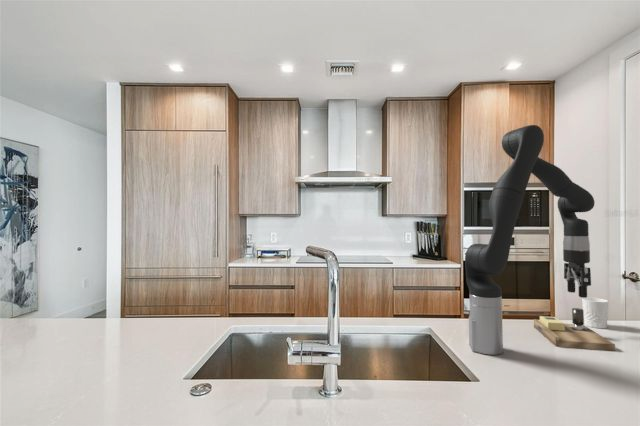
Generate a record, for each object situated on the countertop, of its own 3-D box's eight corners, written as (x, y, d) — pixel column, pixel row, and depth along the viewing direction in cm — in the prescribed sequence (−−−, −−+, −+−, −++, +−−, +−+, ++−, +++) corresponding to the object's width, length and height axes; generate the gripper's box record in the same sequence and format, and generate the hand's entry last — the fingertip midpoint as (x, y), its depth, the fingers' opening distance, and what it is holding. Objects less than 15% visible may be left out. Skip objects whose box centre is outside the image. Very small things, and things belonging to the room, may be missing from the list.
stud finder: (548, 329, 118) (548, 322, 118) (539, 322, 126) (539, 315, 126) (564, 330, 117) (564, 323, 117) (555, 323, 124) (555, 316, 124)
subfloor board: (555, 346, 108) (555, 336, 108) (533, 327, 128) (533, 319, 128) (615, 350, 104) (614, 341, 104) (583, 330, 123) (582, 322, 124)
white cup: (577, 323, 131) (576, 298, 131) (591, 321, 133) (591, 296, 134) (599, 330, 123) (598, 302, 124) (614, 327, 126) (613, 301, 126)
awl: (575, 336, 118) (574, 310, 118) (571, 333, 121) (570, 307, 121) (586, 336, 117) (585, 310, 117) (581, 333, 120) (580, 308, 120)
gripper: (555, 247, 127) (556, 290, 127) (573, 250, 114) (574, 298, 113) (578, 247, 125) (579, 291, 125) (599, 250, 112) (600, 299, 111)
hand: (577, 294), depth 119 cm, fingers open, 8 cm apart
